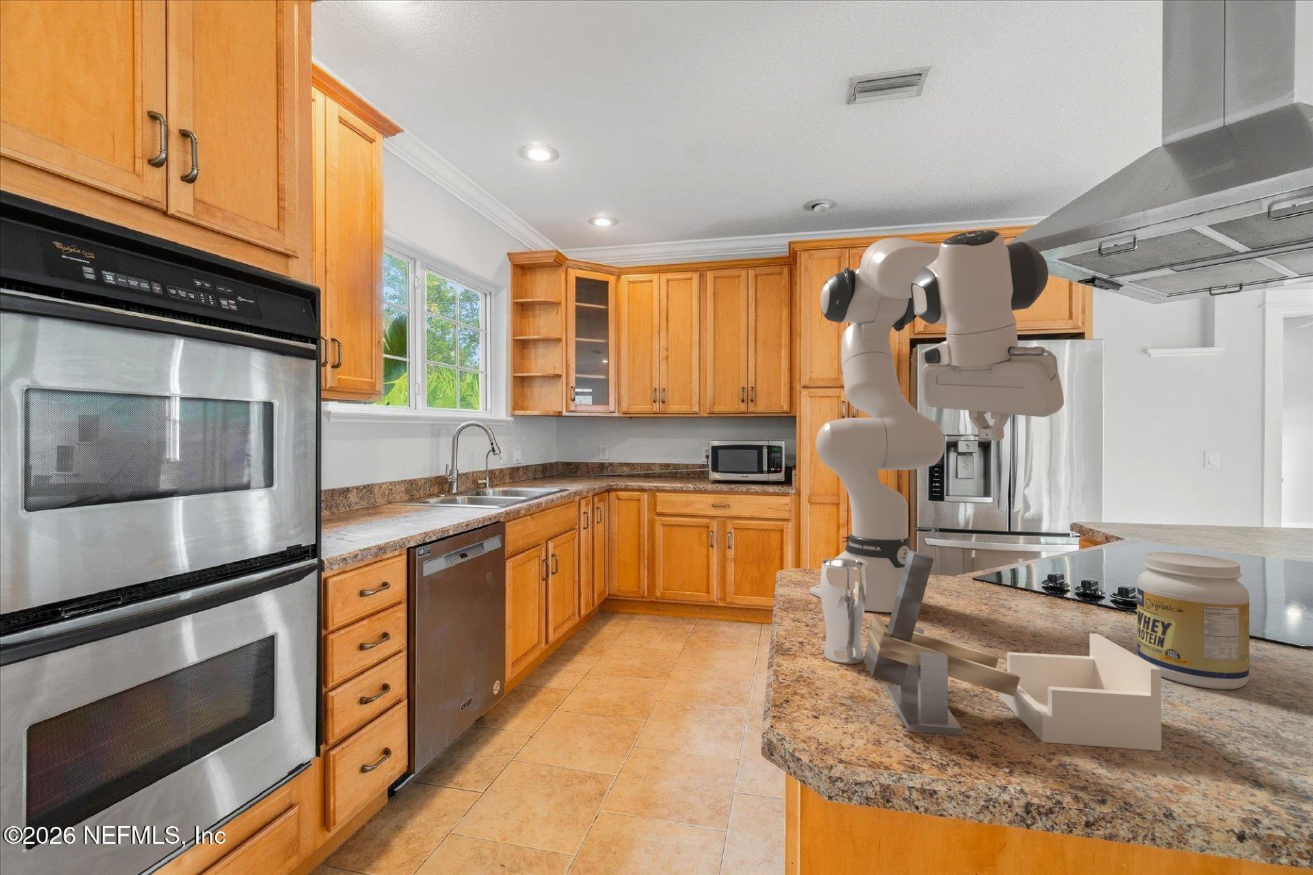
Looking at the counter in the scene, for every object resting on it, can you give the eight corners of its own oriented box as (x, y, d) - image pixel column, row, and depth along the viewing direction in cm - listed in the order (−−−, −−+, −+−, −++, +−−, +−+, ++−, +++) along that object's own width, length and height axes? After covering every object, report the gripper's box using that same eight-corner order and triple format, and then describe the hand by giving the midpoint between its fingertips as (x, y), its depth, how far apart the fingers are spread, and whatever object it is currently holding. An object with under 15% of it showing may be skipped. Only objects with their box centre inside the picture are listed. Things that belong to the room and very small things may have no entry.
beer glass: (834, 645, 98) (833, 556, 98) (874, 656, 93) (874, 562, 93) (812, 656, 93) (811, 562, 93) (853, 669, 88) (853, 569, 88)
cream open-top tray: (1042, 741, 67) (1042, 662, 67) (999, 696, 79) (998, 629, 79) (1161, 750, 65) (1160, 669, 65) (1098, 702, 77) (1098, 633, 77)
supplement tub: (1117, 657, 93) (1117, 549, 93) (1201, 660, 91) (1200, 551, 91) (1178, 690, 80) (1177, 566, 80) (1276, 694, 79) (1275, 568, 79)
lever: (872, 679, 72) (906, 554, 71) (860, 655, 80) (891, 542, 79) (1009, 722, 69) (1046, 592, 69) (983, 693, 77) (1016, 576, 76)
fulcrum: (908, 731, 69) (907, 655, 69) (886, 689, 81) (885, 624, 81) (962, 735, 68) (962, 658, 68) (932, 692, 80) (932, 626, 80)
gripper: (1071, 340, 76) (1078, 441, 79) (939, 344, 95) (949, 425, 98) (1038, 352, 74) (1046, 455, 77) (910, 353, 93) (921, 436, 96)
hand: (991, 438), depth 87 cm, fingers closed
